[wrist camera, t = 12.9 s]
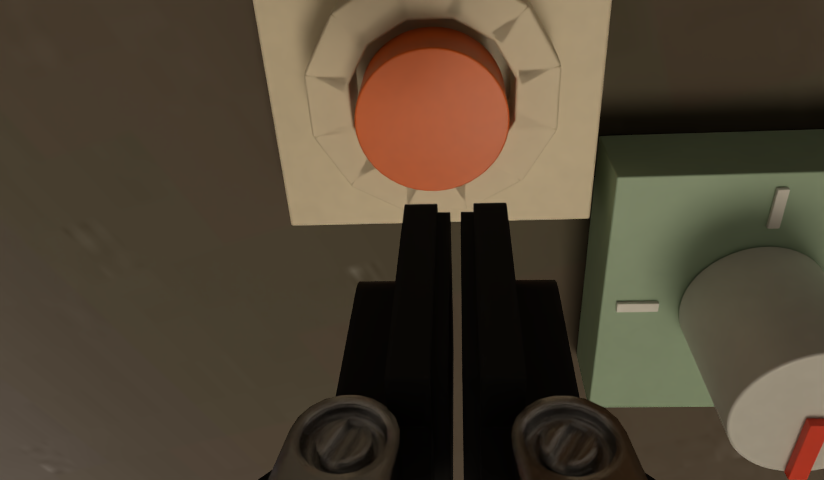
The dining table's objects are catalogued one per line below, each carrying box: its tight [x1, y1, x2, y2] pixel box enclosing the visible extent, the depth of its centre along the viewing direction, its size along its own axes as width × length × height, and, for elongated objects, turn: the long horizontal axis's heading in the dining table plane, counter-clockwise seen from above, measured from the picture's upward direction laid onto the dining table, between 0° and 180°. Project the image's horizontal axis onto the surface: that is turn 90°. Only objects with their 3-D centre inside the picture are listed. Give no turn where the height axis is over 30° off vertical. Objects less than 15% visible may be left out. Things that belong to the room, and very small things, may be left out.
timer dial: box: [679, 247, 824, 480], centre depth 21 cm, size 5×5×5 cm
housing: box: [253, 0, 612, 225], centre depth 21 cm, size 10×10×4 cm
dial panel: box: [577, 129, 824, 407], centre depth 25 cm, size 10×10×3 cm
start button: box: [354, 27, 510, 191], centre depth 19 cm, size 4×4×2 cm
